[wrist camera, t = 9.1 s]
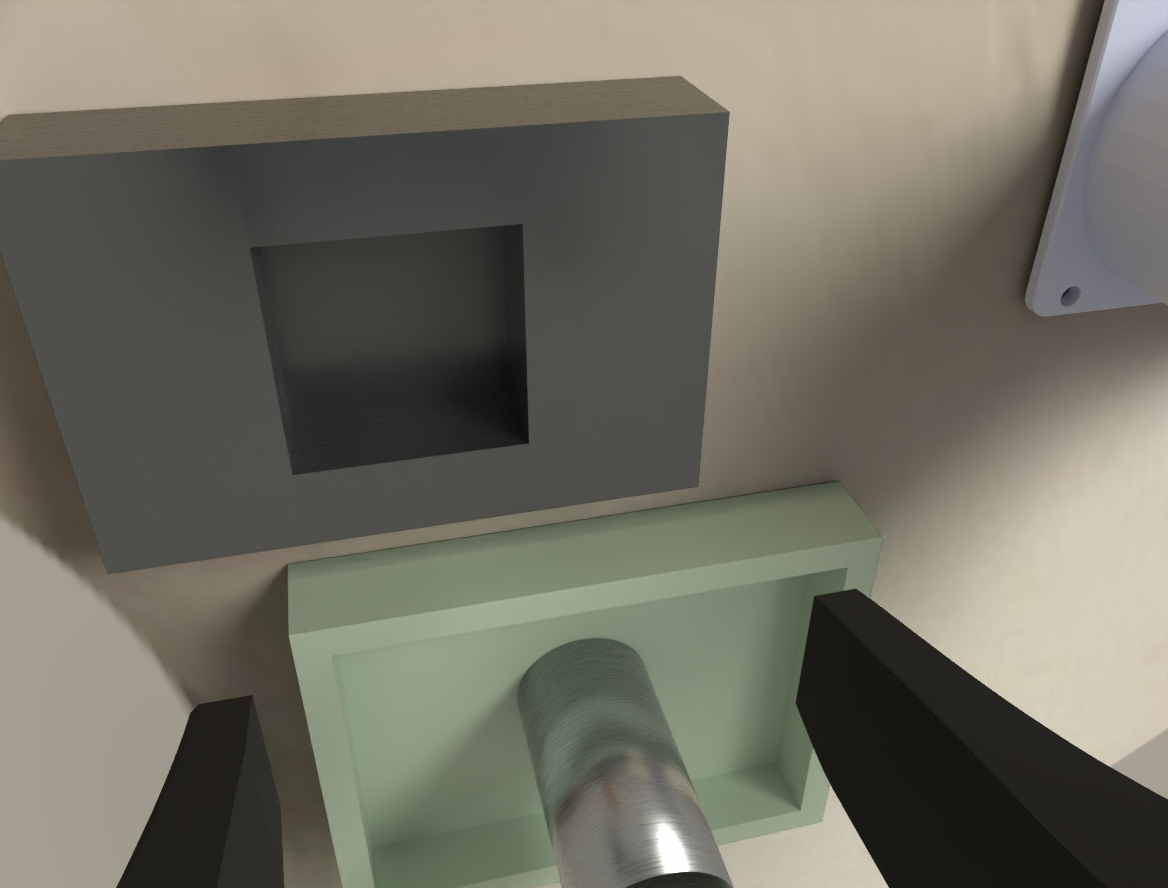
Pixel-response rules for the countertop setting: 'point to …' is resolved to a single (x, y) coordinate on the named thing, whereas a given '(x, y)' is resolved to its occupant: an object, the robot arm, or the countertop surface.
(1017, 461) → the countertop surface
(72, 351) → the hitch block
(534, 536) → the tray
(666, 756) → the pin
